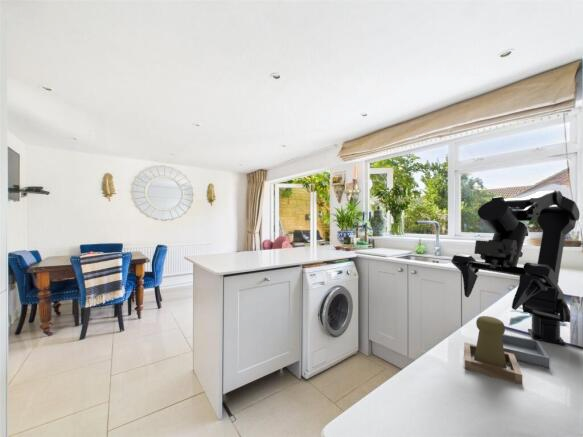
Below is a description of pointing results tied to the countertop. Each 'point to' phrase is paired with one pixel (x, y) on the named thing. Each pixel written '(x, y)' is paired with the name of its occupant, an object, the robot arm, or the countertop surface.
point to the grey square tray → (526, 350)
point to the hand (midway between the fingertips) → (488, 302)
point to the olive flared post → (490, 341)
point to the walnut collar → (493, 366)
